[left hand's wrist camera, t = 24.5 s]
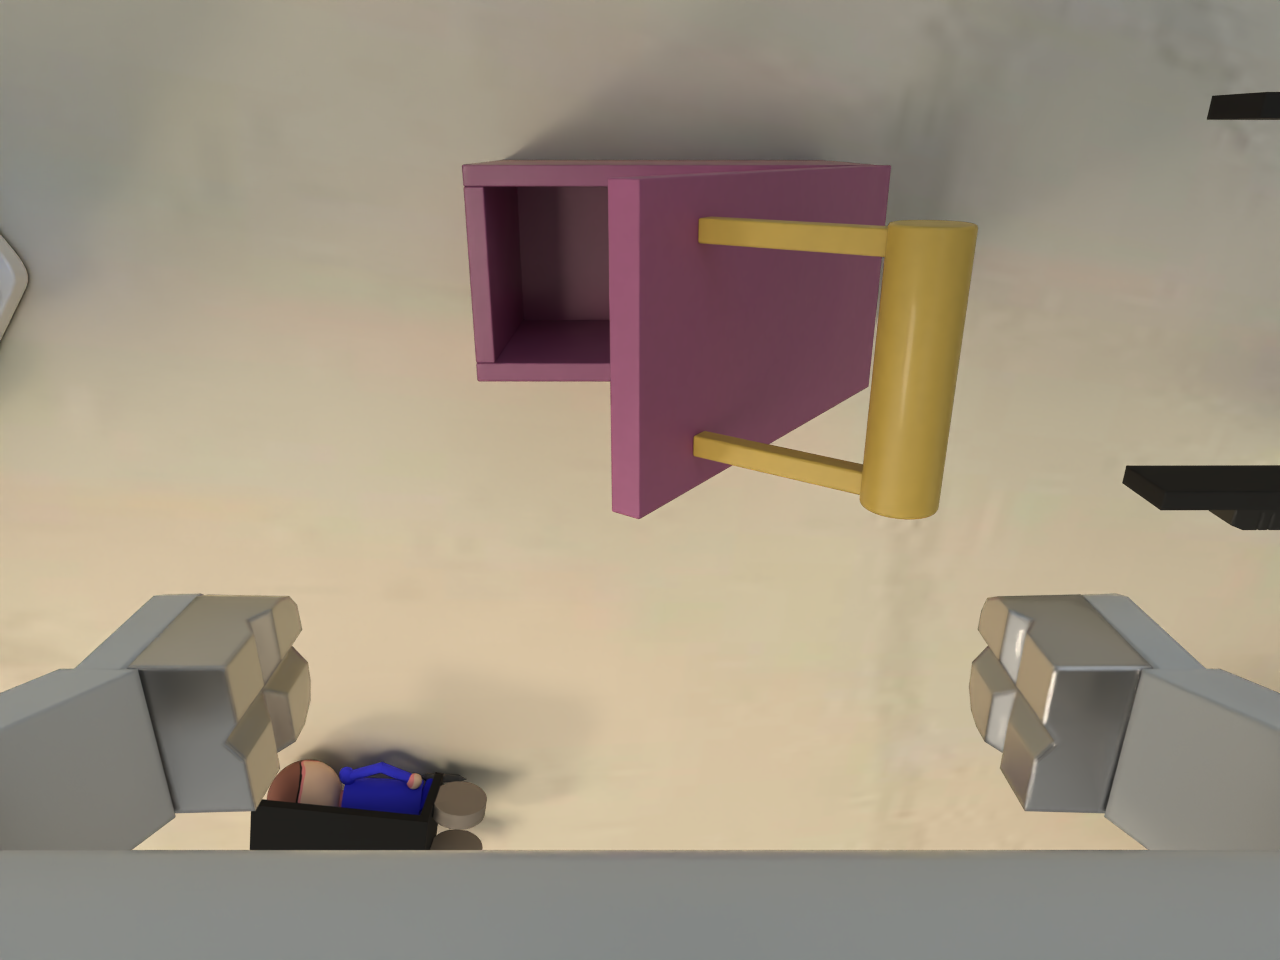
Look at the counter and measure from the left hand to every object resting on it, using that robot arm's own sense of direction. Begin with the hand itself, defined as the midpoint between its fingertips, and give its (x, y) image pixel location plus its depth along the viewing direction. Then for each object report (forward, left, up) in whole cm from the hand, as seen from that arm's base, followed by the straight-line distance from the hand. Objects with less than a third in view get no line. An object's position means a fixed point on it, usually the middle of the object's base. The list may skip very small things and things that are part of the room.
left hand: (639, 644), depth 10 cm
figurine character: (-42, 0, -41) cm, 58 cm away
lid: (+2, -4, -22) cm, 22 cm away
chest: (+1, -1, -41) cm, 41 cm away
